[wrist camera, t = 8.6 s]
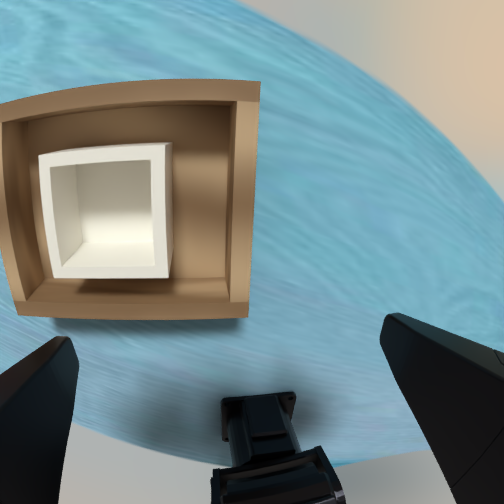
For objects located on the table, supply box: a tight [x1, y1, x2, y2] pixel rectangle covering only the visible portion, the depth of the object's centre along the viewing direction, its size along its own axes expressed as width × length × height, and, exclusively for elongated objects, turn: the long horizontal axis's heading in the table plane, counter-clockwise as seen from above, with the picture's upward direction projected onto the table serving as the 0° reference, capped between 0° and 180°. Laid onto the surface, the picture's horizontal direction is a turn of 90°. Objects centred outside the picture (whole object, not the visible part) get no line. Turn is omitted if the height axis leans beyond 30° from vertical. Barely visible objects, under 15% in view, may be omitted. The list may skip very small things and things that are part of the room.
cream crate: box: [38, 142, 174, 278], centre depth 14 cm, size 6×6×4 cm
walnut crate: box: [0, 79, 261, 320], centre depth 15 cm, size 12×14×4 cm
